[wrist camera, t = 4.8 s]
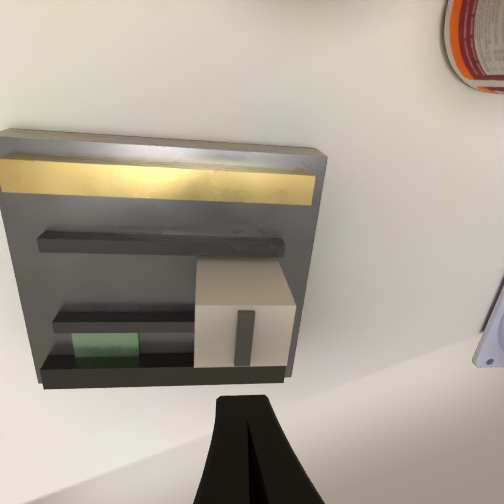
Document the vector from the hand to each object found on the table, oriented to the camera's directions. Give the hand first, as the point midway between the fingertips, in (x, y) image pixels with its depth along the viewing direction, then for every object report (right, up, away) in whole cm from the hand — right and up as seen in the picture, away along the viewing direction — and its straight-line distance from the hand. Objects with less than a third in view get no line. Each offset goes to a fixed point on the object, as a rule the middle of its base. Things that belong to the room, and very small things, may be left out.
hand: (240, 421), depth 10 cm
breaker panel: (-4, +4, +8) cm, 10 cm away
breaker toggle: (0, +3, +7) cm, 8 cm away
